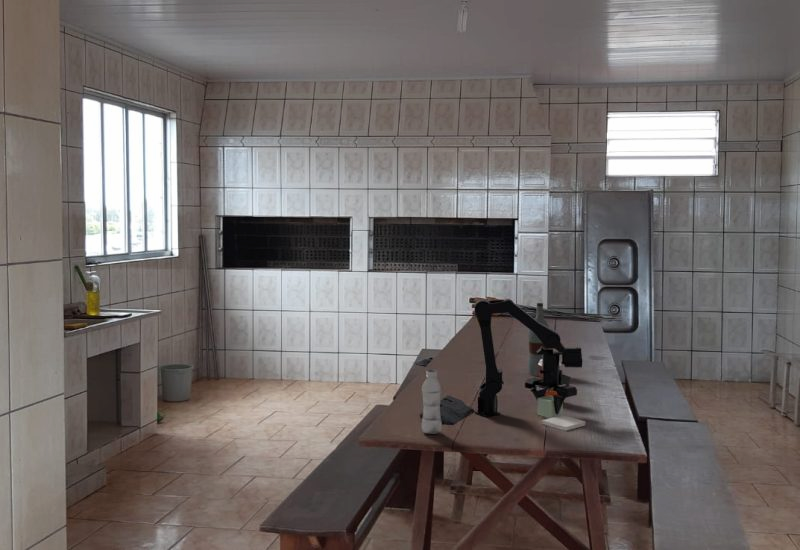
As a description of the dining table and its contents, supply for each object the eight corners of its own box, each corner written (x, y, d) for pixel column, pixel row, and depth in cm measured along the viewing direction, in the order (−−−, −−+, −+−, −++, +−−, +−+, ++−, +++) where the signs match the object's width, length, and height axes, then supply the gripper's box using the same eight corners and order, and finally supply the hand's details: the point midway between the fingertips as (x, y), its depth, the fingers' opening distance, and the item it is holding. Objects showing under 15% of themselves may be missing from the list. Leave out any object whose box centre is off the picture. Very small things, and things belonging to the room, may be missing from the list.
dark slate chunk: (411, 421, 273) (411, 407, 272) (436, 406, 293) (436, 393, 292) (454, 427, 266) (454, 412, 266) (476, 410, 286) (477, 397, 286)
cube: (550, 419, 274) (551, 401, 274) (537, 415, 279) (537, 398, 278) (562, 415, 278) (562, 398, 277) (548, 412, 283) (549, 395, 282)
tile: (565, 430, 261) (565, 427, 260) (541, 423, 268) (541, 420, 268) (585, 425, 267) (585, 421, 267) (561, 418, 275) (561, 415, 274)
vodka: (553, 373, 343) (554, 302, 340) (545, 377, 336) (546, 305, 333) (532, 370, 348) (533, 301, 345) (523, 374, 341) (525, 303, 338)
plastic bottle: (440, 430, 261) (441, 368, 259) (442, 436, 254) (443, 373, 252) (420, 430, 261) (421, 368, 259) (422, 436, 254) (422, 373, 252)
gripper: (588, 368, 275) (586, 413, 276) (545, 359, 289) (544, 402, 291) (566, 372, 268) (565, 419, 269) (523, 363, 282) (523, 408, 283)
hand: (549, 412), depth 278 cm, fingers closed on cube, 6 cm apart
